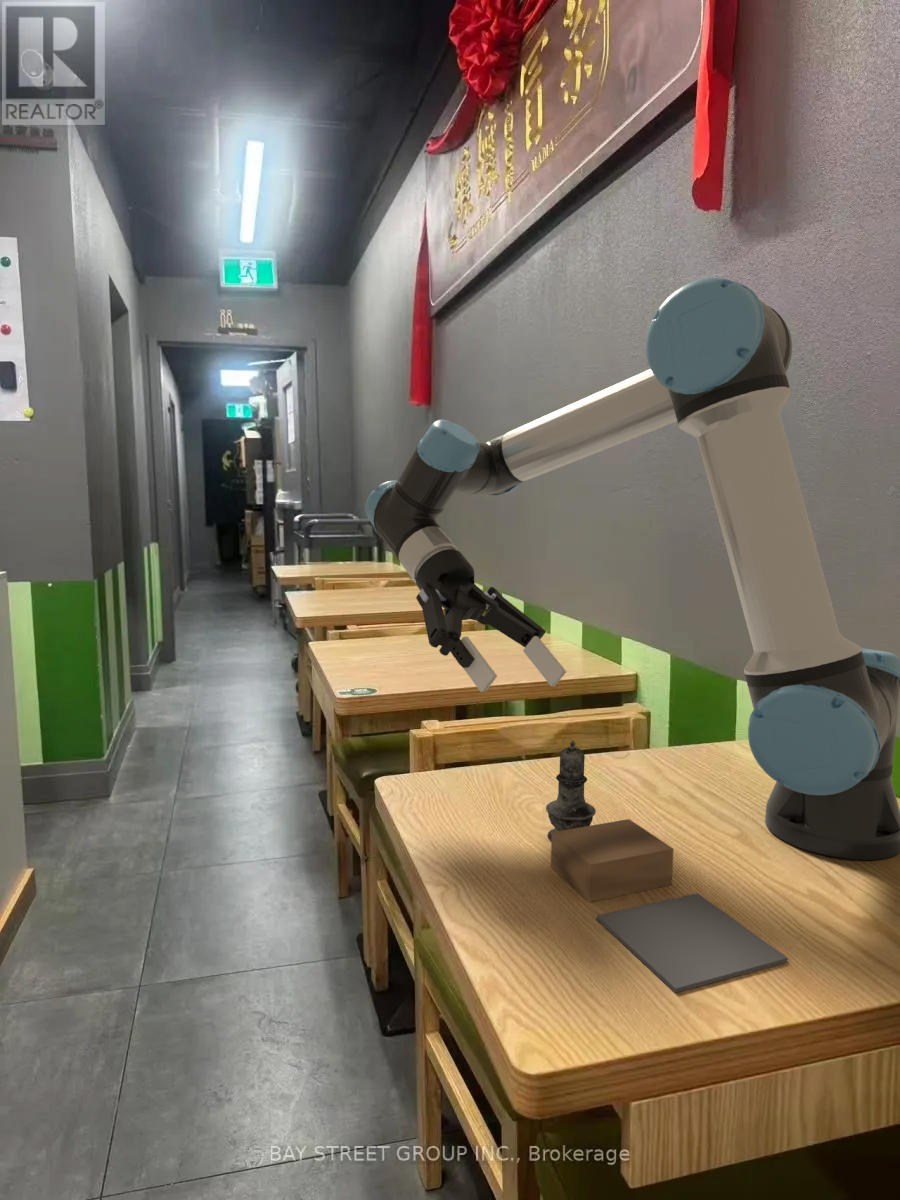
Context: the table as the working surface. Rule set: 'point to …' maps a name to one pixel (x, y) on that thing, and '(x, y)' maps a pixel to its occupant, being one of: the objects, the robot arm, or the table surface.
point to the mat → (690, 941)
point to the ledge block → (611, 859)
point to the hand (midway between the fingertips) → (526, 681)
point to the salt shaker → (570, 794)
